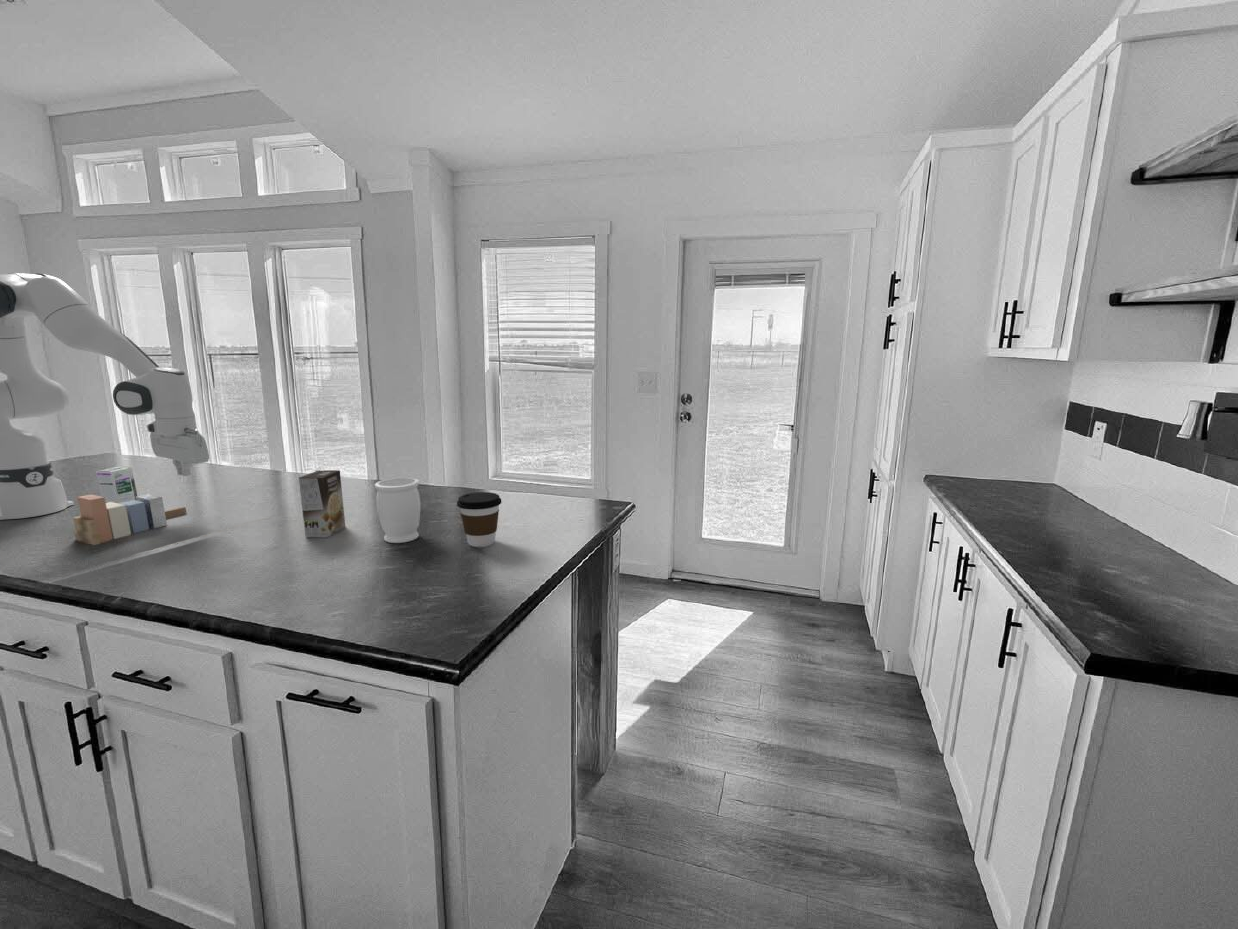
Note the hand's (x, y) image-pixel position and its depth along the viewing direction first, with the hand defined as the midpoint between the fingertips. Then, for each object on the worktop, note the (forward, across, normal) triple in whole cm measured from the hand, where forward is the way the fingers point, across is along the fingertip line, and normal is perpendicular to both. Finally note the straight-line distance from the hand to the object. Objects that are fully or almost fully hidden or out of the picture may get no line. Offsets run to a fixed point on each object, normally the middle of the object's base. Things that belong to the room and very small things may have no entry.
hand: (184, 475), depth 162 cm
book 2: (+12, -1, +18) cm, 22 cm away
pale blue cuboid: (+12, -1, +14) cm, 18 cm away
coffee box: (+12, -46, -8) cm, 48 cm away
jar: (+11, -68, -13) cm, 70 cm away
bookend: (+12, -1, +10) cm, 15 cm away
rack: (+13, 0, +12) cm, 18 cm away
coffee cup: (+10, -89, -19) cm, 91 cm away
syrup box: (+14, +20, +7) cm, 25 cm away
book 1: (+12, -1, +22) cm, 25 cm away
